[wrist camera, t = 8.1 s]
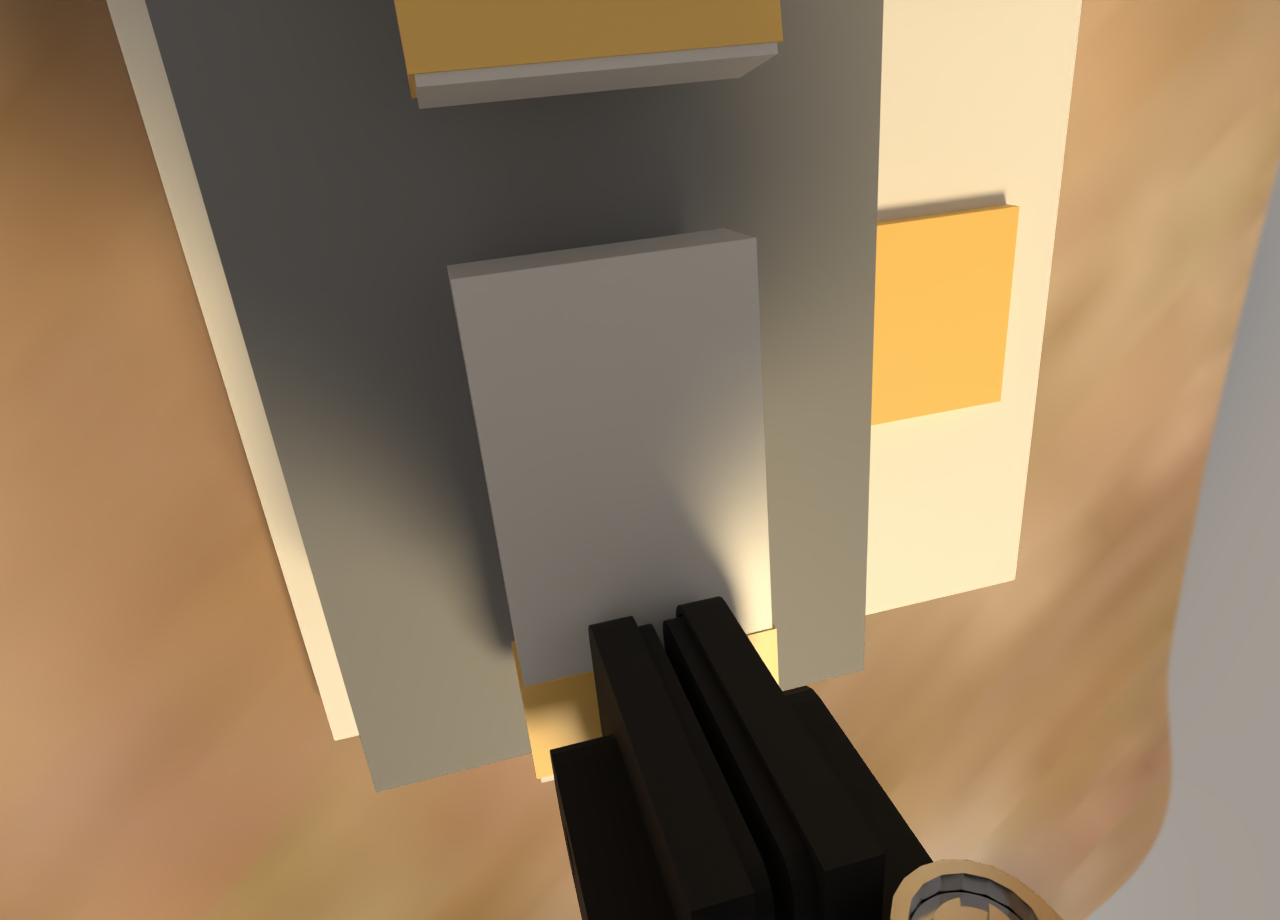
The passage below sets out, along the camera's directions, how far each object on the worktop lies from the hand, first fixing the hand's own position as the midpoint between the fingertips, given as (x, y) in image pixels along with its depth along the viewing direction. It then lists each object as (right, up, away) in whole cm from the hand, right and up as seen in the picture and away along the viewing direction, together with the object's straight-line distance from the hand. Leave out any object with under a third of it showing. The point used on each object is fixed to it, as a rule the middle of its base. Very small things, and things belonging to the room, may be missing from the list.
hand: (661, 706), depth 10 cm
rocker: (0, +2, 0) cm, 2 cm away
